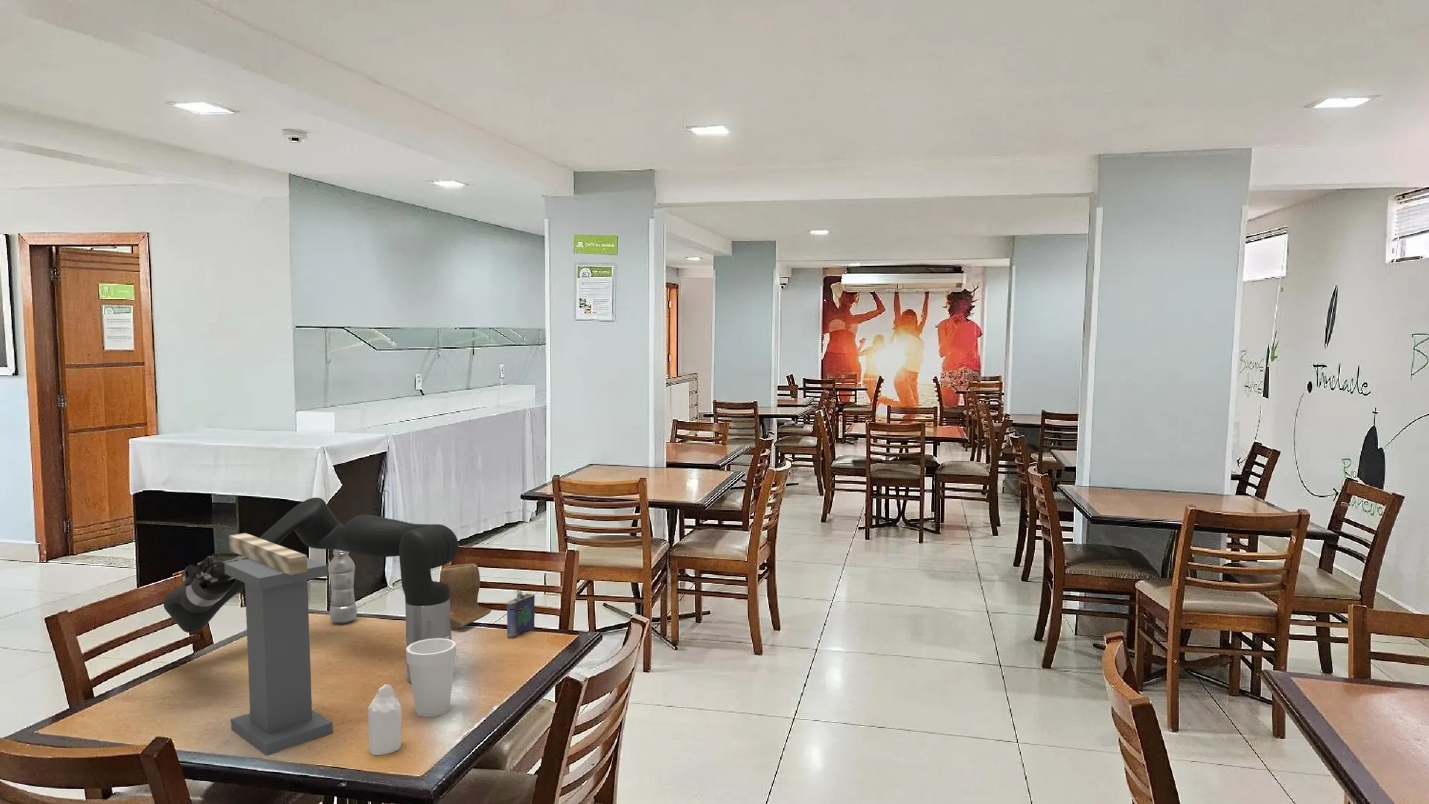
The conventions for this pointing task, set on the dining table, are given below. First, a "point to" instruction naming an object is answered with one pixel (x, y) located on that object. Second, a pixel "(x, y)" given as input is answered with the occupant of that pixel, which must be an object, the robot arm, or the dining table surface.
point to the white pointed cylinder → (384, 722)
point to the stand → (278, 657)
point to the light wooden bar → (268, 553)
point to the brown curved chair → (463, 594)
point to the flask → (520, 615)
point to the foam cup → (431, 674)
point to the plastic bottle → (342, 588)
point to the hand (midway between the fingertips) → (234, 556)
